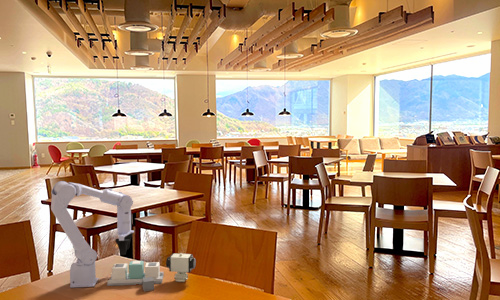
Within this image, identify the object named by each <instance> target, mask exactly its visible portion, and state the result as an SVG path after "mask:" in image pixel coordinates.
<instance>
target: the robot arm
mask: <svg viewBox="0 0 500 300" xmlns="http://www.w3.org/2000/svg"><path fill="white" fill-rule="evenodd" d="M50 193H51V205H50V209H51V212H52V213H53V215H54V217H55V218H56V220H57V222H58V223H59V225H60V226H61V228H62V230H63V231H64V233H65V235H66V237H67V238H68V239H69V241H70V243H71V244H72V248H73V251H74V256H75V258H76V259H77V260H76V262H72V263H71V264H70V268H69V269H70V270H69V282H70V286H69V288H88V287H89V288H90V287H91V288H92V287H95V286H96V284H97V282H98V281H99V279H100V278H99V277H96V261H97V258H98V253H97V251H96V250H95V249H93V248H92V247H91V246H90V244H89V243H88V241H86V240H85V238H84V236H83V234H82V233H81V231H80V229H79V227H78V226H77V224H76V223H75V221H74V219H73V218H72V216H71V214H70V212H69V211H68V209H67V208H68V206H69V204H70V203H71V201H72V200H73V199H74V198H75V197H79V196H81V195H86V196H89V197H94V198H98V199H99V200H100V202H101V203H104V204H108V205H112V206H115V207H116V208H117V209H116V210H117V211H116V213H117V214H116V215H117V216H116V218H117V220H116V222H117V224H116V225H117V227H116V229H117V231H116V235H117V236H118V238H115V243H116V244H117V246H118V250H119V251H118V252H119V254H120V256H126V255H127V250H129V248H130V244H131V239H132V236H133V234H134V233H135V230H132V210H131V209H132V208H131V207H132V206H133V204H134V200H133V198H132V197H131V196H130V195H128V194H125V193H123V192H122V191H115V190H113V189H112V188H105V189H103V190H101V189H97V188H93V187H90V186H87V185H84V184H81V183H76V182H72V181H71V182H70V181H68V182H67V181H64V180H61V181H57V182H55V184H53V187H52V189H51V192H50Z"/></svg>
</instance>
